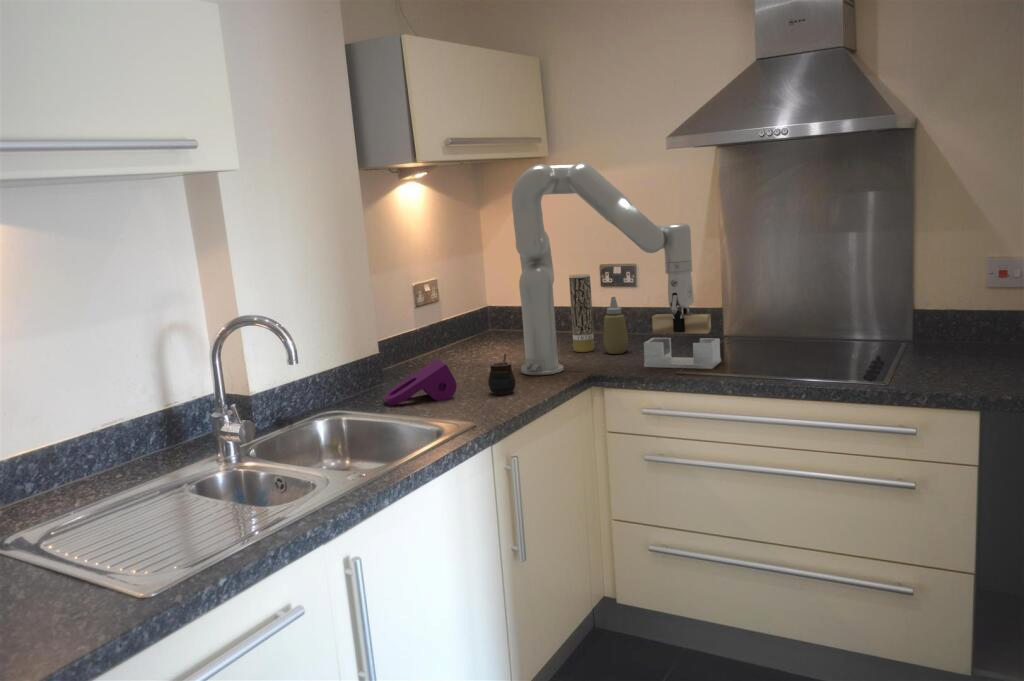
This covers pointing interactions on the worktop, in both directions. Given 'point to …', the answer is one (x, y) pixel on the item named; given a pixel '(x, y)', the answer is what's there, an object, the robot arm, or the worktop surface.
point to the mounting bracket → (425, 384)
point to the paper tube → (581, 312)
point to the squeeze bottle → (615, 330)
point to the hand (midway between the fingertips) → (681, 330)
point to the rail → (692, 323)
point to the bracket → (703, 357)
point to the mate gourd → (501, 378)
